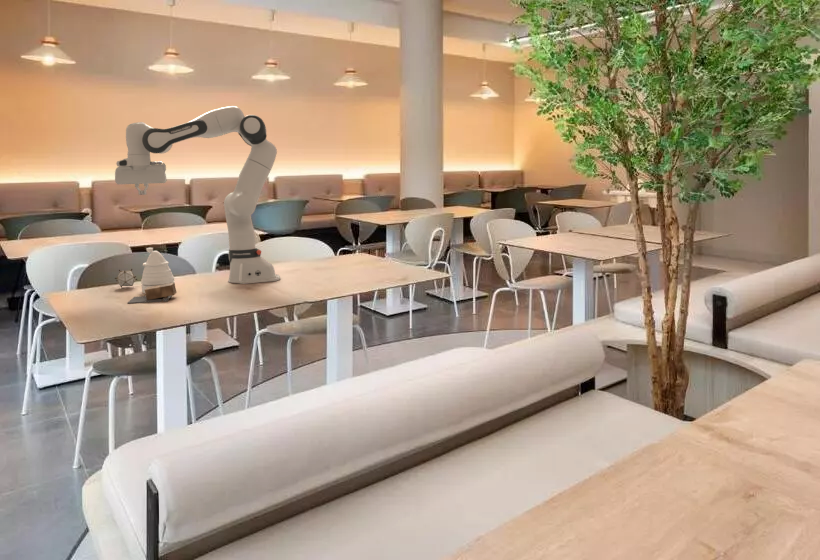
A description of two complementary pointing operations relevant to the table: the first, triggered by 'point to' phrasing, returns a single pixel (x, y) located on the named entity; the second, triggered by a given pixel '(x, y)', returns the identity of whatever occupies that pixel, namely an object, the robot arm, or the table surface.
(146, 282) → the honey pot
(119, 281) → the twenty-sided die
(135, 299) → the mat
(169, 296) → the rail
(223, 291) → the table surface
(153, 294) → the walnut block
